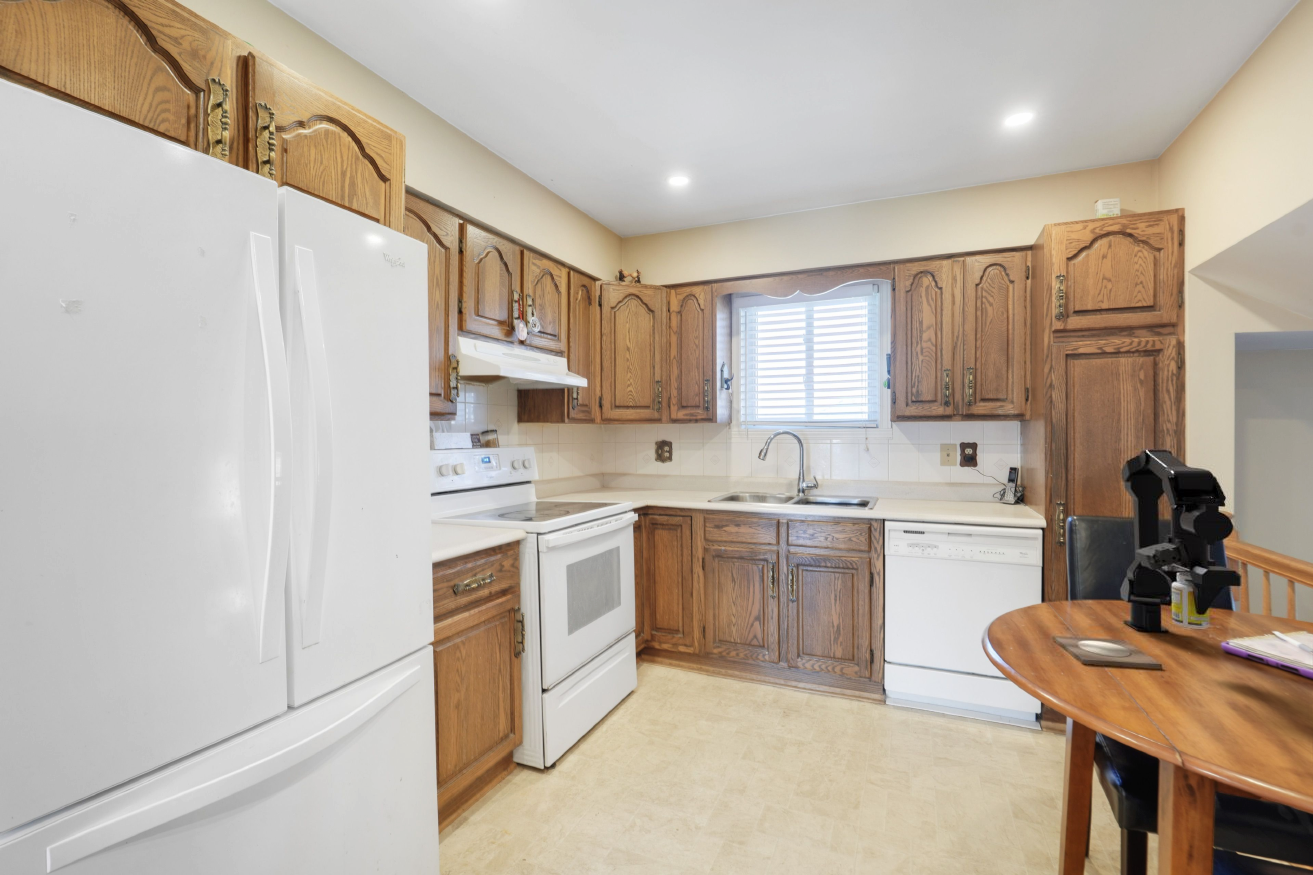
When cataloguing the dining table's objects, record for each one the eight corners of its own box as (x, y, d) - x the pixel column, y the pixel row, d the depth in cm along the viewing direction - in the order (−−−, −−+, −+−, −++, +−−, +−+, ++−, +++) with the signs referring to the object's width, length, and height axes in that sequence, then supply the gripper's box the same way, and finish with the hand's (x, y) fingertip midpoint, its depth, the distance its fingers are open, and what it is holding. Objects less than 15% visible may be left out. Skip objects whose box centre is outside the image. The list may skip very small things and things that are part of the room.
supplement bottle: (1215, 626, 116) (1214, 575, 116) (1201, 631, 114) (1200, 579, 114) (1180, 619, 121) (1179, 569, 121) (1166, 623, 119) (1165, 573, 119)
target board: (1052, 640, 134) (1052, 634, 134) (1123, 643, 131) (1123, 638, 131) (1082, 663, 120) (1082, 658, 120) (1161, 669, 117) (1161, 663, 117)
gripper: (1118, 524, 128) (1118, 595, 128) (1172, 540, 110) (1173, 622, 110) (1177, 525, 126) (1178, 597, 126) (1243, 541, 107) (1244, 626, 108)
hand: (1190, 609), depth 117 cm, fingers closed on supplement bottle, 6 cm apart
